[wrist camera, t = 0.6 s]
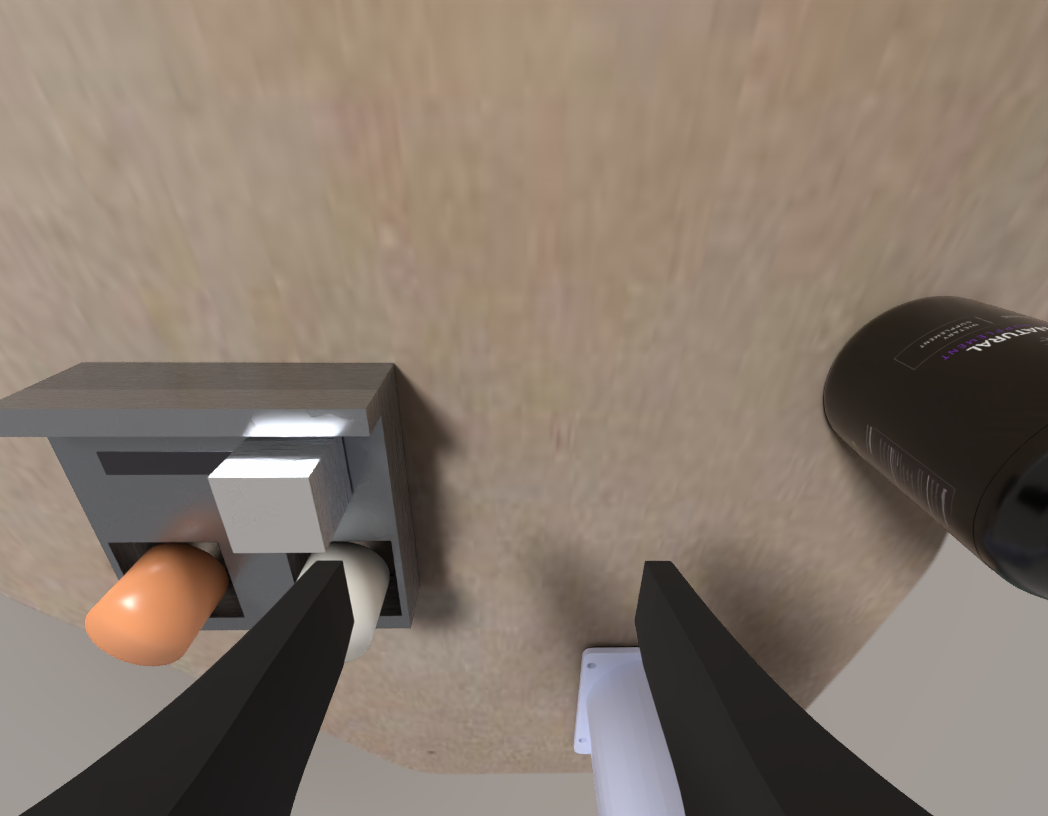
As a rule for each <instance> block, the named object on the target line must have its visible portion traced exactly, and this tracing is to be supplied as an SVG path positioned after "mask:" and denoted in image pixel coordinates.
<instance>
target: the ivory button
mask: <svg viewBox="0 0 1048 816" xmlns="http://www.w3.org/2000/svg"><path fill="white" fill-rule="evenodd" d="M317 560H343V565H344V570H345V575H346V580H347V585H348V590H349V595H350V600H351V606H352V611H353V616H354V626H353V630H352V634H351V638H350V642H349V646H348V650H347V654H346V658H345V661H344V663H345V662H349V661H352V660H355V659H357V658H359V657H360V656H362V655H363V654H364V653H365V652H366V651H367V650H368V648H369V647H370V645H371V642H372V638H373V635H374V631H375V628H376V625H377V621H378V618H379V615H380V611H381V608H382V605H383V601H384V598H385V595H386V591H387V588H388V584H389V581H390V572H389V569H388V566H387V564H386V563H385V561H384V560H383V559H382V558H381V557H380V556H379V555H378V554H377V553H376V552H374V551H373V550H371V549H369V548H367V547H365V546H362V545H359V544H356V543H350V542H334V543H330V544H329V546H328V548H327V550H326V552H325V553H312V554H311V555H310V556H309V558H308V560H307V562H306V564H305V565H304V567H303V569H302V571H301V573H300V575H299V577H298V579H299V578H300V577H301V576H302V575H303V574H304V573H305V572H306V571H307V570H308V569H309V568H310V566H311V565H312V564H313V563H315V562H316V561H317ZM298 579H297V580H298Z"/></svg>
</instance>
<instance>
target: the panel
mask: <svg viewBox="0 0 1048 816" xmlns="http://www.w3.org/2000/svg"><path fill="white" fill-rule="evenodd" d="M248 436H341V437H342V443H343V448H344V453H345V459H346V464H347V470H348V475H349V481H350V486H351V491H352V499H351V501H350V503H349V505H348V507H347V509H346V511H345V513H344V515H343V517H342V520H341V522H340V524H339V526H338V528H337V530H336V532H335V534H334V536H333V538H332V540H331V541H391V543H392V550H393V557H394V564H395V570H396V574H390V581H389V584H388V588H387V591H386V595H385V598H384V601H383V605H382V608H381V611H380V615H379V618H378V621H377V625H376V628H411V624H412V620H413V615H414V611H415V606H416V602H417V597H418V593H419V588H420V581H419V573H418V565H417V556H416V548H415V539H414V531H413V523H412V514H411V506H410V497H409V489H408V480H407V472H406V464H405V455H404V447H403V438H402V430H401V422H400V413H399V405H398V396H397V388H396V380H395V371H394V363H80V364H78V365H76V366H73V367H71V368H69V369H67V370H65V371H62V372H60V373H58V374H56V375H54V376H51V377H49V378H47V379H45V380H43V381H40V382H38V383H36V384H34V385H32V386H29V387H27V388H25V389H23V390H21V391H19V392H16V393H14V394H12V395H10V396H8V397H5V398H3V399H1V400H0V437H47V438H48V440H49V442H50V444H51V446H52V448H53V450H54V452H55V454H56V456H57V458H58V460H59V462H60V464H61V466H62V468H63V470H64V472H65V474H66V476H67V478H68V480H69V482H70V484H71V486H72V488H73V490H74V492H75V494H76V496H77V498H78V500H79V502H80V504H81V506H82V508H83V510H84V512H85V514H86V516H87V518H88V520H89V522H90V524H91V526H92V528H93V530H94V532H95V534H96V536H97V538H98V540H99V542H100V544H101V546H102V548H103V550H104V552H105V554H106V556H107V558H108V560H109V562H110V564H111V566H112V568H113V570H114V572H115V574H116V576H117V578H118V580H120V579H121V578H122V577H123V576H124V575H125V574H126V573H127V572H128V571H129V569H130V568H131V567H132V566H133V565H134V564H135V563H136V562H137V561H138V560H139V559H140V558H141V557H142V556H143V555H144V554H145V553H146V552H147V551H148V550H149V549H151V548H152V547H154V546H157V545H160V544H165V542H218V544H219V546H220V549H221V552H222V555H223V558H224V560H225V563H226V566H227V569H228V572H229V574H230V575H228V578H229V586H228V589H227V591H226V593H225V594H224V596H223V597H222V599H221V600H220V602H219V603H218V605H217V606H216V608H215V609H214V611H213V612H212V614H211V615H210V617H209V618H208V620H207V621H206V623H205V624H204V626H203V627H202V628H201V630H250V629H251V628H252V627H253V626H254V625H255V624H256V623H257V622H258V621H259V620H260V619H261V618H262V617H263V616H264V615H265V614H266V613H267V612H268V611H269V610H270V609H271V608H272V607H273V606H274V605H275V604H276V603H277V602H278V600H279V599H280V598H281V597H282V596H283V595H284V594H285V593H286V592H287V591H288V590H289V589H290V588H291V587H292V586H293V585H294V583H295V582H296V581H297V579H298V577H299V575H300V573H301V571H302V569H303V567H304V565H305V564H306V562H307V560H308V558H309V556H310V555H311V554H312V553H233V550H232V548H231V545H230V542H229V539H228V536H227V533H226V530H225V527H224V524H223V521H222V518H221V516H220V513H219V510H218V507H217V504H216V501H215V498H214V495H213V492H212V489H211V486H210V483H209V481H208V477H209V475H210V474H211V473H212V472H213V471H214V470H215V469H216V468H217V467H218V466H219V465H220V464H221V463H222V462H223V461H224V460H225V459H226V458H227V457H228V456H229V455H230V454H231V453H232V452H233V451H234V450H235V449H236V448H237V447H238V446H239V445H240V444H241V443H242V442H243V441H244V440H245V439H246V438H247V437H248ZM376 628H375V629H376Z"/></svg>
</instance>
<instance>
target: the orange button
mask: <svg viewBox="0 0 1048 816" xmlns="http://www.w3.org/2000/svg"><path fill="white" fill-rule="evenodd" d="M228 586H229V578H228V575H227V572H226V570H225V569H224V567H223V566H222V564H221V563H220V562H219V561H218V560H217V559H216V558H214V557H213V556H212V555H210V554H209V553H207V552H205V551H203V550H201V549H199V548H197V547H194V546H191V545H186V544H181V543H165V544H160V545H157V546H154V547H152V548H151V549H149V550H148V551H147V552H146V553H145V554H144V555H143V556H142V557H141V558H140V559H139V560H138V561H137V562H136V563H135V564H134V565H133V566H132V567H131V568H130V569H129V571H128V572H127V573H126V574H125V575H124V576H123V577H122V578H121V579H120V580H119V581H118V582H117V583H116V584H115V585H114V586H113V587H112V588H111V589H110V591H109V592H108V593H107V594H106V595H105V596H104V597H103V598H102V599H101V600H100V601H99V602H98V603H97V604H96V605H95V606H94V607H93V608H92V609H91V610H90V612H89V613H88V614H87V616H86V619H85V628H86V631H87V633H88V635H89V637H90V638H91V640H92V641H93V642H94V643H95V644H96V645H97V646H98V647H99V648H101V649H102V650H103V651H104V652H106V653H108V654H109V655H111V656H113V657H115V658H117V659H120V660H122V661H125V662H128V663H132V664H136V665H143V666H160V665H166V664H170V663H173V662H175V661H177V660H179V659H180V658H181V657H182V656H183V655H184V654H185V652H186V651H187V649H188V648H189V646H190V645H191V643H192V642H193V640H194V639H195V637H196V636H197V634H198V633H199V631H200V630H201V628H202V627H203V626H204V624H205V623H206V621H207V620H208V618H209V617H210V615H211V614H212V612H213V611H214V609H215V608H216V606H217V605H218V603H219V602H220V600H221V599H222V597H223V596H224V594H225V593H226V591H227V589H228Z"/></svg>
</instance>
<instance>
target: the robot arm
mask: <svg viewBox="0 0 1048 816" xmlns="http://www.w3.org/2000/svg"><path fill="white" fill-rule="evenodd" d="M353 626H354V616H353V611H352V606H351V600H350V595H349V590H348V585H347V580H346V575H345V570H344V565H343V560H317V561H316V562H315V563H313V564H312V565H311V566H310V568H309V569H308V570H307V571H306V572H305V573H304V574H303V575H302V576H301V577H300V578H299V579H298V580H297V581H296V582H295V583H294V585H293V586H292V587H291V588H290V589H289V590H288V591H287V592H286V593H285V594H284V595H283V596H282V597H281V598H280V599H279V600H278V602H277V603H276V604H275V605H274V606H273V607H272V608H271V609H270V610H269V611H268V612H267V613H266V614H265V615H264V616H263V617H262V618H261V619H260V620H259V621H258V622H257V623H256V624H255V625H254V626H253V627H252V628H251V629H250V630H249V631H248V632H247V633H246V634H245V635H244V636H243V637H242V638H241V639H240V640H239V641H238V642H237V643H236V644H235V645H234V646H233V647H232V648H231V649H230V650H229V651H228V652H227V653H226V654H224V655H223V656H222V657H221V658H220V659H219V660H218V661H217V662H216V663H215V664H214V665H213V666H212V667H211V668H210V669H208V670H207V671H206V672H205V673H204V674H203V675H202V676H201V677H200V678H199V679H198V680H196V681H195V682H194V683H193V684H192V685H191V686H190V687H189V688H187V689H186V690H185V691H184V692H183V693H182V694H181V695H180V696H178V697H177V698H176V699H175V700H174V701H172V702H171V703H170V704H169V705H168V706H166V707H165V708H164V709H163V710H162V711H160V712H159V713H158V714H157V715H156V716H154V717H153V718H152V719H151V720H150V721H148V722H147V723H146V724H145V725H143V726H142V727H141V728H140V729H138V730H137V731H136V732H134V733H133V734H132V735H130V736H129V737H128V738H126V739H125V740H124V741H122V742H121V743H120V744H118V745H117V746H116V747H115V748H113V749H112V750H111V751H109V752H108V753H107V754H106V755H104V756H103V757H101V758H100V759H99V760H97V761H96V762H95V763H93V764H92V765H91V766H89V767H88V768H87V769H86V770H84V771H83V772H81V773H80V774H78V775H77V776H76V777H74V778H73V779H72V780H70V781H69V782H67V783H66V784H64V785H63V786H61V787H60V788H59V789H57V790H56V791H54V792H53V793H52V794H50V795H49V796H47V797H46V798H44V799H43V800H41V801H40V802H38V803H37V804H36V805H34V806H33V807H31V808H30V809H28V810H27V811H25V812H24V813H22V814H21V815H19V816H290V814H291V810H292V807H293V803H294V800H295V796H296V793H297V790H298V787H299V784H300V781H301V778H302V775H303V773H304V769H305V767H306V764H307V761H308V759H309V756H310V754H311V751H312V749H313V746H314V743H315V741H316V738H317V735H318V733H319V730H320V727H321V725H322V722H323V719H324V717H325V714H326V711H327V709H328V706H329V703H330V701H331V698H332V695H333V693H334V690H335V687H336V685H337V682H338V679H339V676H340V674H341V671H342V668H343V665H344V661H345V658H346V654H347V650H348V646H349V642H350V638H351V634H352V630H353ZM635 626H636V631H637V637H638V643H639V647H611V648H588V649H586V650H585V651H583V653H582V662H581V672H580V682H579V693H578V703H577V714H576V724H575V734H574V751H575V752H576V753H579V754H591V760H592V767H593V775H594V782H595V790H596V798H597V805H598V812H599V816H933V815H931V814H930V813H929V812H927V811H926V810H925V809H924V808H922V807H921V806H919V805H918V804H917V803H915V802H914V801H913V800H911V799H910V798H909V797H907V796H906V795H905V794H904V793H902V792H901V791H900V790H898V789H897V788H896V787H894V786H893V785H892V784H891V783H889V782H888V781H887V780H885V779H884V778H883V777H882V776H880V775H879V774H878V773H877V772H875V771H874V770H873V769H872V768H871V767H870V766H868V765H867V764H866V763H865V762H864V761H862V760H861V759H860V758H858V757H857V756H856V755H855V754H854V753H853V752H851V751H850V750H849V749H848V748H846V747H845V746H844V745H843V744H842V743H840V742H839V741H838V740H837V739H836V738H834V737H833V736H832V735H831V734H830V733H829V732H828V731H826V730H825V729H824V728H823V727H822V726H821V725H820V724H819V723H818V722H816V721H815V720H814V719H813V718H812V717H811V716H810V715H808V713H807V712H806V711H805V710H803V709H802V708H801V707H800V706H799V705H798V704H797V703H796V702H795V701H794V700H793V699H792V698H791V697H790V696H789V695H788V694H787V693H786V692H785V691H784V690H783V689H782V688H781V687H780V686H779V685H778V684H777V683H776V682H775V681H774V680H773V679H772V678H771V677H770V676H769V675H768V674H767V673H766V672H765V671H764V670H763V669H762V668H761V667H760V666H759V665H758V664H757V663H756V662H755V661H754V659H753V658H752V657H751V656H750V655H749V654H748V653H747V652H746V651H745V650H744V649H743V648H742V646H741V645H740V644H739V643H738V642H737V641H736V640H735V639H734V637H733V636H732V635H731V634H730V633H729V632H728V630H727V629H726V628H725V627H724V626H723V625H722V624H721V622H720V621H719V620H718V619H717V618H716V617H715V615H714V614H713V613H712V612H711V611H710V609H709V608H708V607H707V606H706V604H705V603H704V602H703V601H702V600H701V598H700V597H699V596H698V595H697V593H696V592H695V591H694V590H693V588H692V587H691V586H690V585H689V583H688V582H687V581H686V579H685V578H684V577H683V576H682V574H681V573H680V572H679V571H678V569H677V568H676V567H675V565H674V564H673V563H672V562H671V561H645V564H644V570H643V576H642V581H641V587H640V593H639V599H638V604H637V610H636V616H635Z"/></svg>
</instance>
